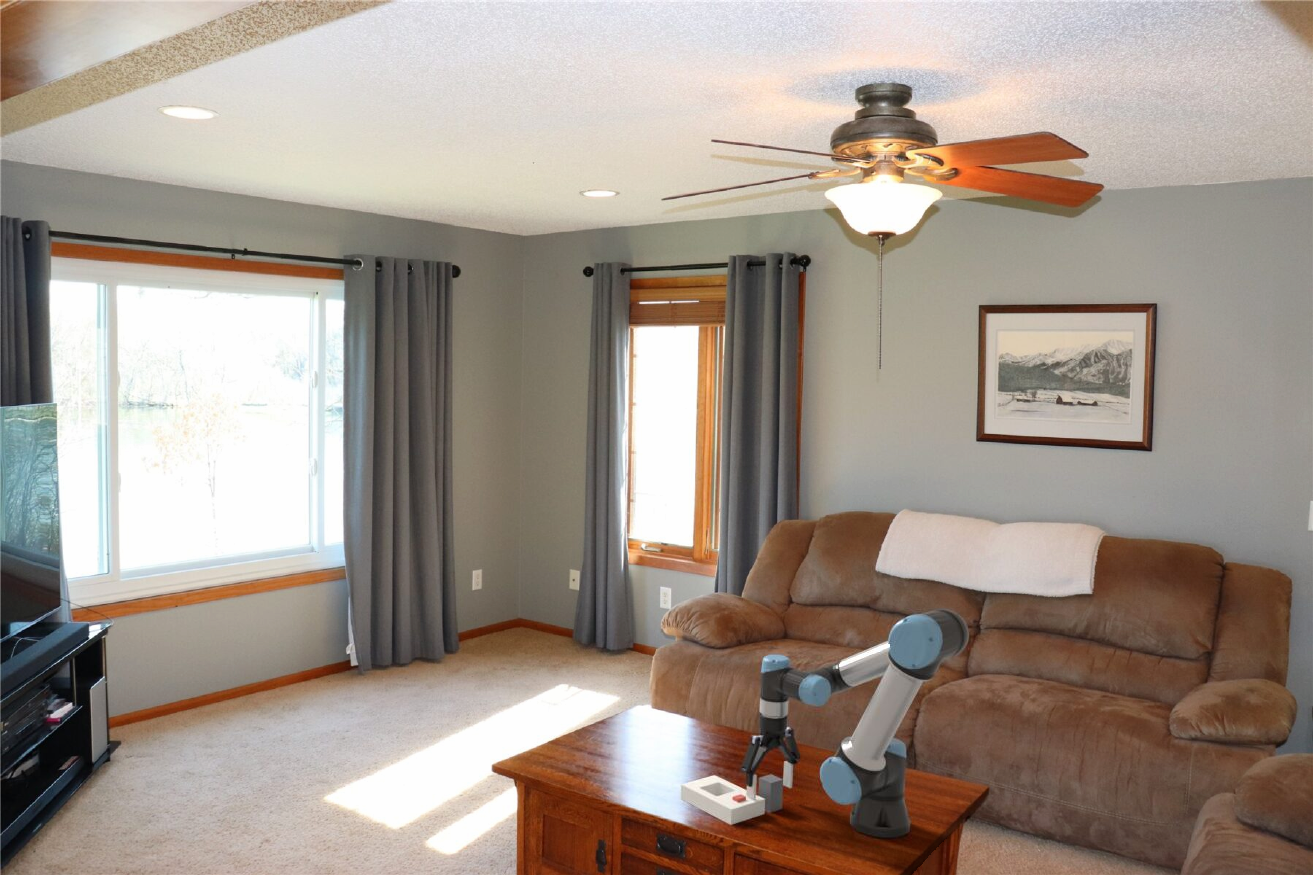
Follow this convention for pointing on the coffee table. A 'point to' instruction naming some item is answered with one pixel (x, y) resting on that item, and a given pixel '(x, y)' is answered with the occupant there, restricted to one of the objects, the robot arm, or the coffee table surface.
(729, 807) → the socket plate
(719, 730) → the coffee table surface
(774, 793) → the plug
